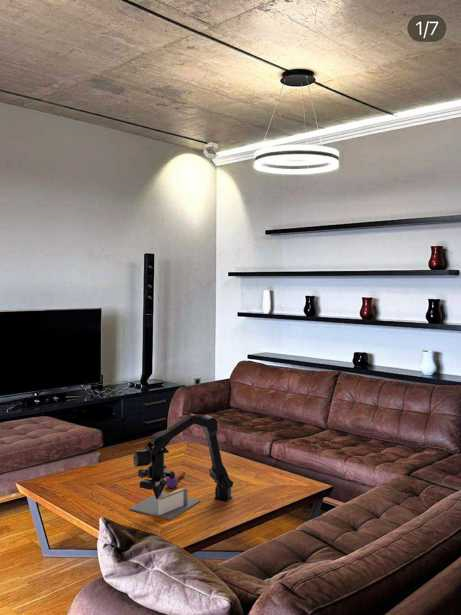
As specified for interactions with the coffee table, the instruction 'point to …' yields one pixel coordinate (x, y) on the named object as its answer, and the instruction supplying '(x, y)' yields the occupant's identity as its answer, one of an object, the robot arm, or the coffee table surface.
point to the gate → (170, 501)
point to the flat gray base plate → (152, 506)
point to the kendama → (174, 479)
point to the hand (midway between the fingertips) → (157, 498)
